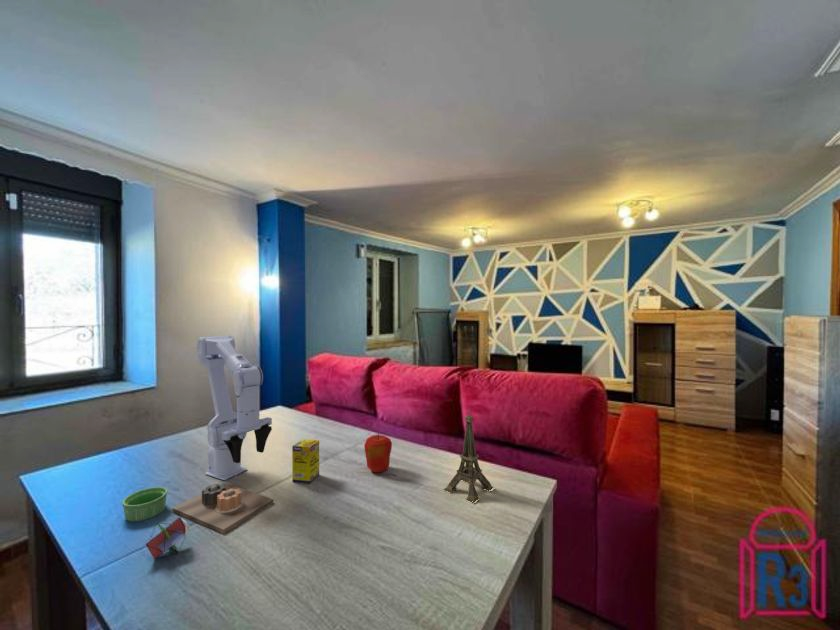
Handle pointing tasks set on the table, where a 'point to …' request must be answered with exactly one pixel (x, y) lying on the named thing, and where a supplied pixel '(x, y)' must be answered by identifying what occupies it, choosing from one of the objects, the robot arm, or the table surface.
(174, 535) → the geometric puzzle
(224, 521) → the gear board
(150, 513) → the ramekin
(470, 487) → the eiffel tower
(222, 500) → the gear
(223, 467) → the robot arm
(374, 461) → the apple
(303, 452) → the supplement box
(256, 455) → the table surface
